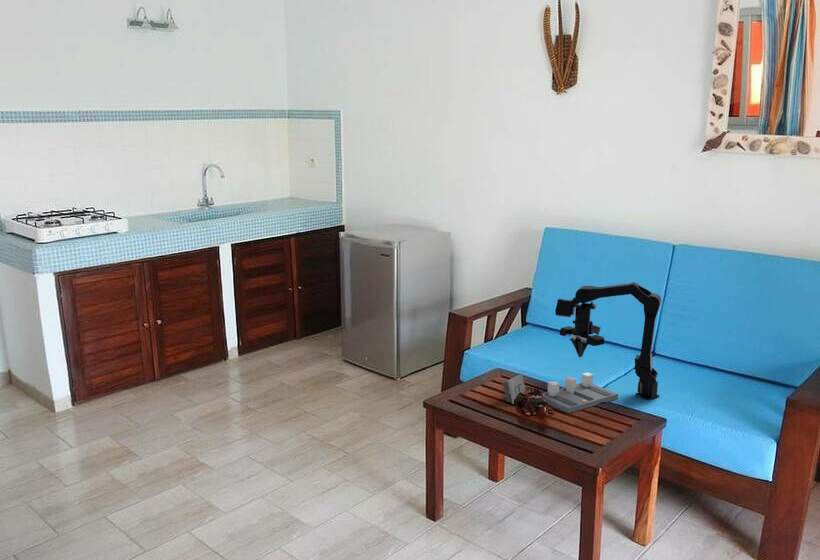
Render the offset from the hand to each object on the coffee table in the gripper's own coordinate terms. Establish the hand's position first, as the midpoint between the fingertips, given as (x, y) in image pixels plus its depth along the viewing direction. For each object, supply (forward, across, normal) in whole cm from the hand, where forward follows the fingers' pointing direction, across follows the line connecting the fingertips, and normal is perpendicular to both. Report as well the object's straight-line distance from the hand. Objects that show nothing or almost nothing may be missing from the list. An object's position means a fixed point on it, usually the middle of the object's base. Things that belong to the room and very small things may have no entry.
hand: (580, 356), depth 281 cm
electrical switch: (+12, +2, +32) cm, 34 cm away
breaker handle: (+12, -6, +11) cm, 17 cm away
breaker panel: (+12, -10, +11) cm, 19 cm away
